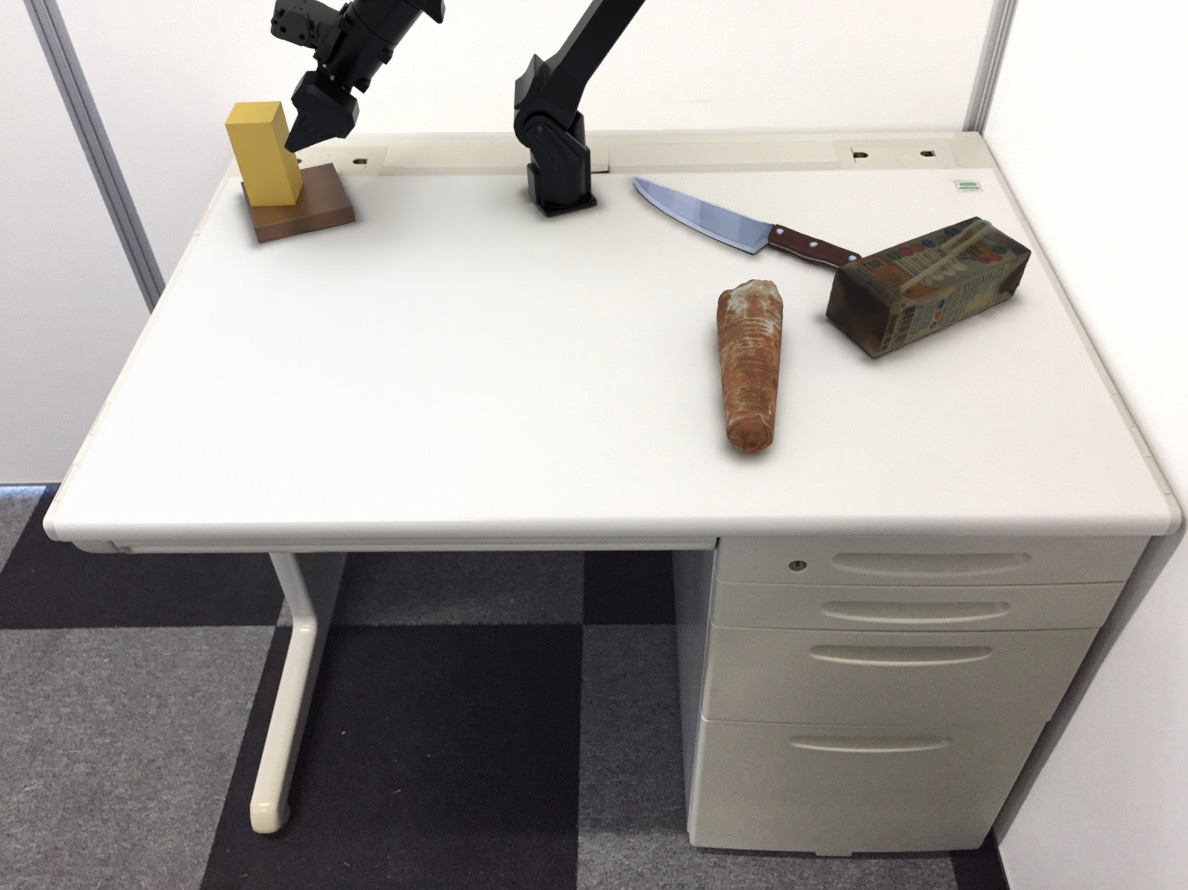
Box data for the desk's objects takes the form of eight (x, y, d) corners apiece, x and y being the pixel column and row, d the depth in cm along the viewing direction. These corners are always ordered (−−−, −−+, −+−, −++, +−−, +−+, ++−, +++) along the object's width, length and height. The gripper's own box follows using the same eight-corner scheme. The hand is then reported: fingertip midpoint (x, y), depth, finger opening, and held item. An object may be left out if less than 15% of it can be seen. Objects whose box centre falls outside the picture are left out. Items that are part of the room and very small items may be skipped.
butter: (303, 182, 108) (281, 100, 101) (295, 205, 105) (271, 122, 98) (261, 184, 108) (235, 102, 101) (251, 206, 105) (224, 123, 97)
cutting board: (336, 177, 113) (332, 162, 111) (355, 221, 106) (352, 206, 104) (245, 196, 110) (240, 181, 109) (258, 243, 103) (253, 228, 101)
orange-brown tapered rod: (779, 324, 91) (787, 278, 87) (777, 463, 78) (785, 416, 74) (715, 319, 92) (720, 272, 88) (702, 456, 78) (707, 409, 74)
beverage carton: (1018, 300, 93) (1040, 244, 88) (873, 364, 86) (888, 308, 82) (960, 261, 98) (977, 206, 93) (819, 319, 91) (830, 264, 87)
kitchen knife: (844, 288, 94) (848, 272, 93) (610, 200, 109) (610, 185, 107) (866, 269, 97) (869, 254, 95) (634, 185, 111) (634, 171, 110)
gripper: (322, -68, 95) (248, 44, 103) (287, 0, 82) (205, 122, 90) (411, 8, 101) (334, 108, 109) (391, 82, 88) (305, 190, 96)
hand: (296, 129), depth 101 cm, fingers open, 9 cm apart
